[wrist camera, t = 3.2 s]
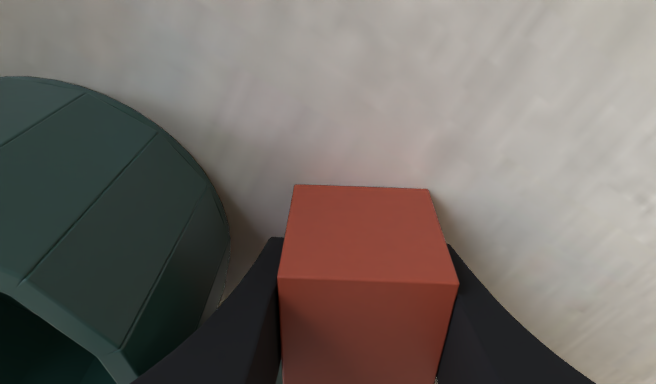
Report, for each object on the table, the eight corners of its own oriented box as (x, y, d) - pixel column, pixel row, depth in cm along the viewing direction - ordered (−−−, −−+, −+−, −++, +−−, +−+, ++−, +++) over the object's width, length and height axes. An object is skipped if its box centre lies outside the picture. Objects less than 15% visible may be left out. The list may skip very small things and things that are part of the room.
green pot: (287, 194, 13) (249, 372, 8) (163, 364, 18) (87, 550, 13) (-69, -5, 11) (-495, 63, 5) (-106, 257, 15) (-353, 437, 10)
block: (428, 188, 13) (460, 283, 10) (411, 287, 15) (432, 394, 12) (294, 183, 13) (276, 276, 10) (296, 282, 15) (282, 388, 12)
